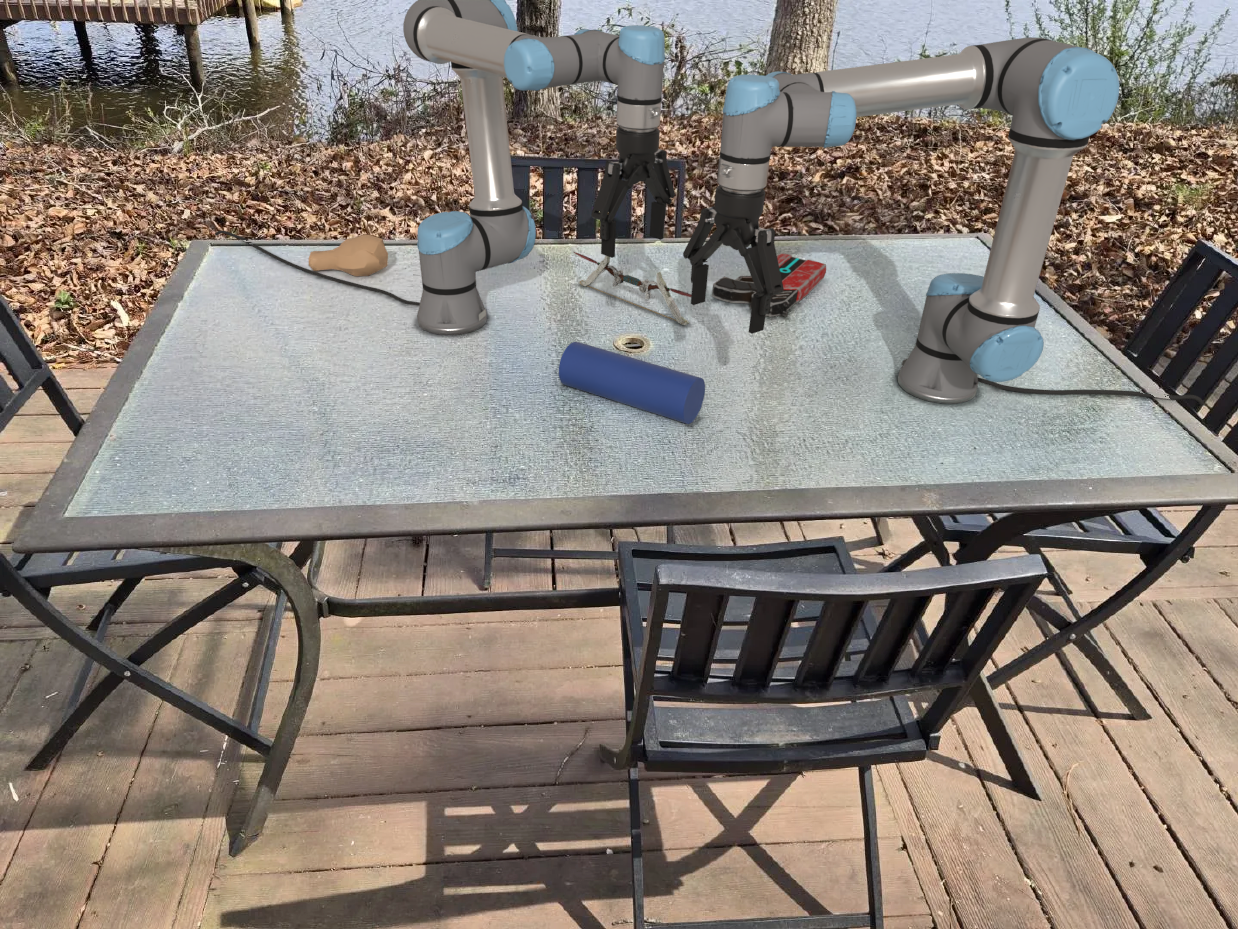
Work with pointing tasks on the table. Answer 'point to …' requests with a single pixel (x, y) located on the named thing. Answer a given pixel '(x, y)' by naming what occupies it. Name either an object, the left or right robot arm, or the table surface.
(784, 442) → the table surface
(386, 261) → the squash
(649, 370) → the rod
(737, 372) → the table surface
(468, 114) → the left robot arm
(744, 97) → the right robot arm
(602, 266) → the bow
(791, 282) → the gun
